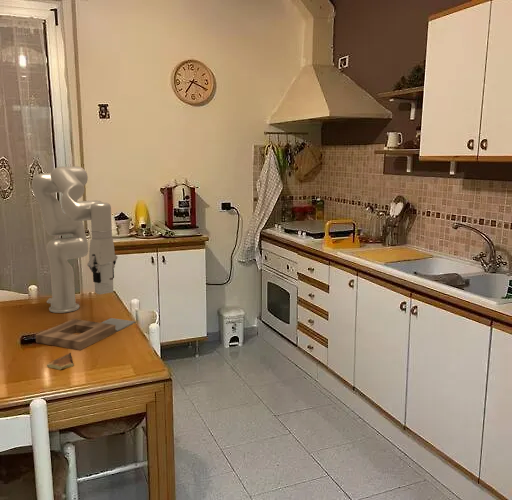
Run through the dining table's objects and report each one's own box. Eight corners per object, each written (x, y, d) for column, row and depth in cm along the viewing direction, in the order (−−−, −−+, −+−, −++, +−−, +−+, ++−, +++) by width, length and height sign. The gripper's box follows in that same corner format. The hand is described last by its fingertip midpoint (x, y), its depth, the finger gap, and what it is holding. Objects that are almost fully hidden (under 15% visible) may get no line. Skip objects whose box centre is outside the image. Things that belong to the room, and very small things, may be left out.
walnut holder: (36, 342, 189) (35, 334, 189) (74, 326, 207) (73, 318, 207) (80, 350, 182) (79, 341, 181) (115, 332, 200) (115, 325, 200)
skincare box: (99, 294, 200) (98, 264, 197) (94, 292, 203) (92, 262, 201) (114, 292, 204) (113, 261, 201) (109, 289, 207) (107, 260, 205)
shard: (70, 356, 177) (70, 351, 177) (88, 360, 174) (87, 355, 174) (46, 368, 167) (45, 363, 167) (64, 372, 164) (63, 367, 164)
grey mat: (92, 327, 205) (92, 326, 205) (111, 319, 216) (111, 318, 216) (117, 331, 201) (117, 330, 201) (135, 322, 212) (135, 321, 212)
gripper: (108, 231, 208) (110, 274, 212) (78, 237, 193) (80, 284, 196) (124, 232, 205) (125, 276, 209) (94, 239, 190) (96, 286, 193)
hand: (103, 279), depth 202 cm, fingers closed on skincare box, 7 cm apart
